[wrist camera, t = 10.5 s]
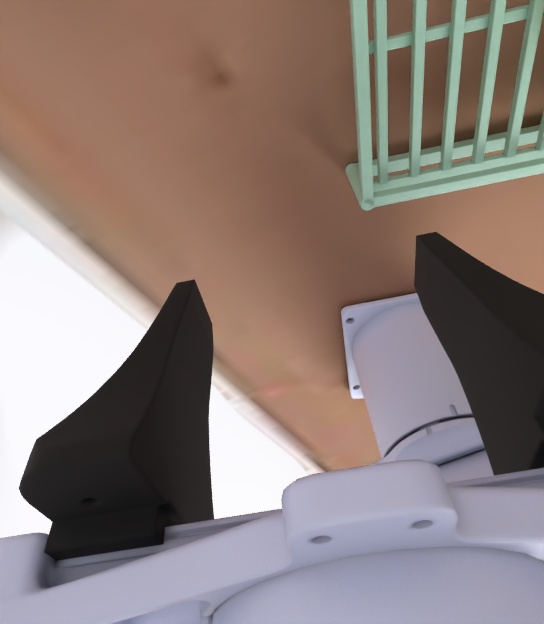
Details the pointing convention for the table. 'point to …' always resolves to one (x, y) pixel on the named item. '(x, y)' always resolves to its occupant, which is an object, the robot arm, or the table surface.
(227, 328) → the table surface
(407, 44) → the rack
